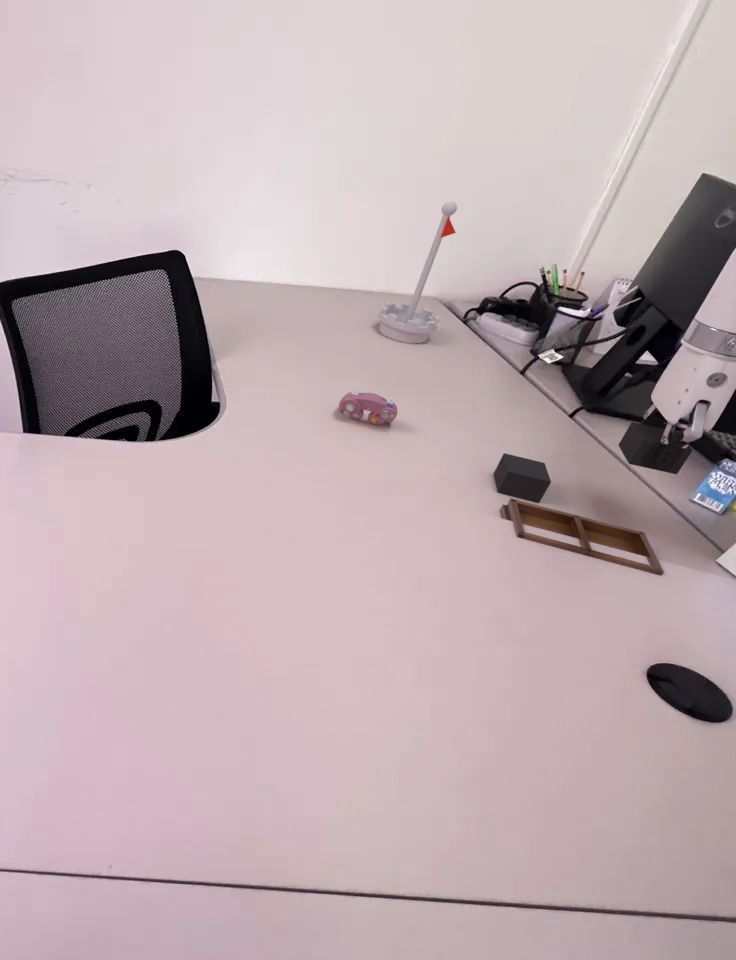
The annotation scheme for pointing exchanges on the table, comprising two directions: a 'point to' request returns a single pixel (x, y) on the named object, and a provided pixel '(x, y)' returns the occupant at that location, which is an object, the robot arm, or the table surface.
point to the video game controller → (368, 407)
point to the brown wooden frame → (581, 534)
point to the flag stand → (417, 297)
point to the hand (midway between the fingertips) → (648, 455)
